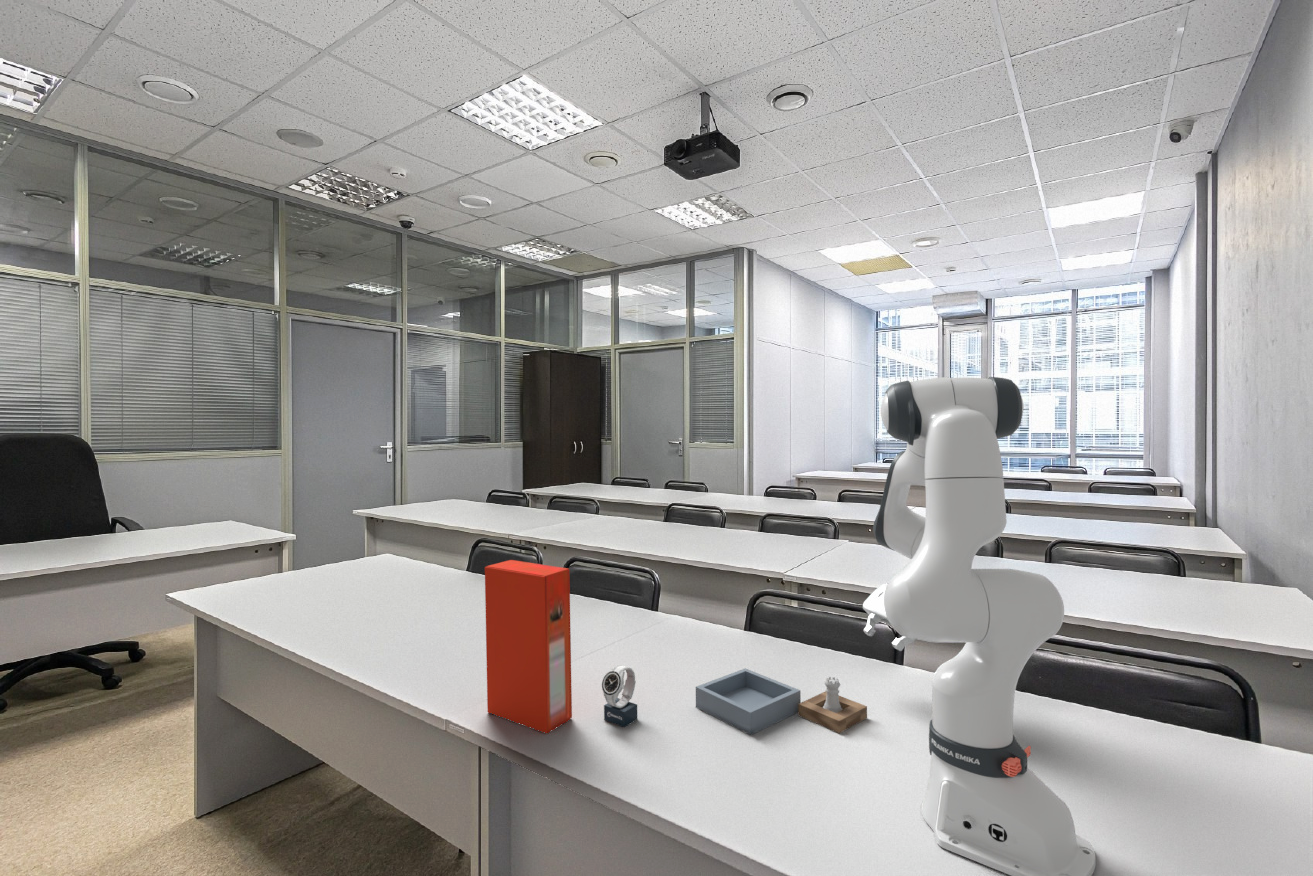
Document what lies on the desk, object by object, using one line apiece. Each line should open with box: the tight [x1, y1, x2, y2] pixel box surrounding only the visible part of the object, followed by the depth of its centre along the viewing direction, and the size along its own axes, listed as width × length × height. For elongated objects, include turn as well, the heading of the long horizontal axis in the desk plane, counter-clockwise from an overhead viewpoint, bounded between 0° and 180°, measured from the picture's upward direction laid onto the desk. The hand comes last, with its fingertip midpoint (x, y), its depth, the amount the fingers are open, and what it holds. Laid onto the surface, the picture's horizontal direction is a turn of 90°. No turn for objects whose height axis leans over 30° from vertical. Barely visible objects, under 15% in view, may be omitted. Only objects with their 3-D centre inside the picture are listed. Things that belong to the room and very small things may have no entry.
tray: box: [695, 668, 802, 736], centre depth 131 cm, size 16×16×4 cm
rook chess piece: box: [823, 676, 843, 713], centre depth 128 cm, size 4×4×8 cm
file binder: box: [484, 559, 573, 734], centre depth 129 cm, size 8×17×32 cm, turn 57°
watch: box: [601, 664, 638, 728], centre depth 127 cm, size 6×8×11 cm
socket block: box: [798, 690, 868, 734], centre depth 128 cm, size 10×10×2 cm
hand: (880, 640), depth 131 cm, fingers open, 8 cm apart
